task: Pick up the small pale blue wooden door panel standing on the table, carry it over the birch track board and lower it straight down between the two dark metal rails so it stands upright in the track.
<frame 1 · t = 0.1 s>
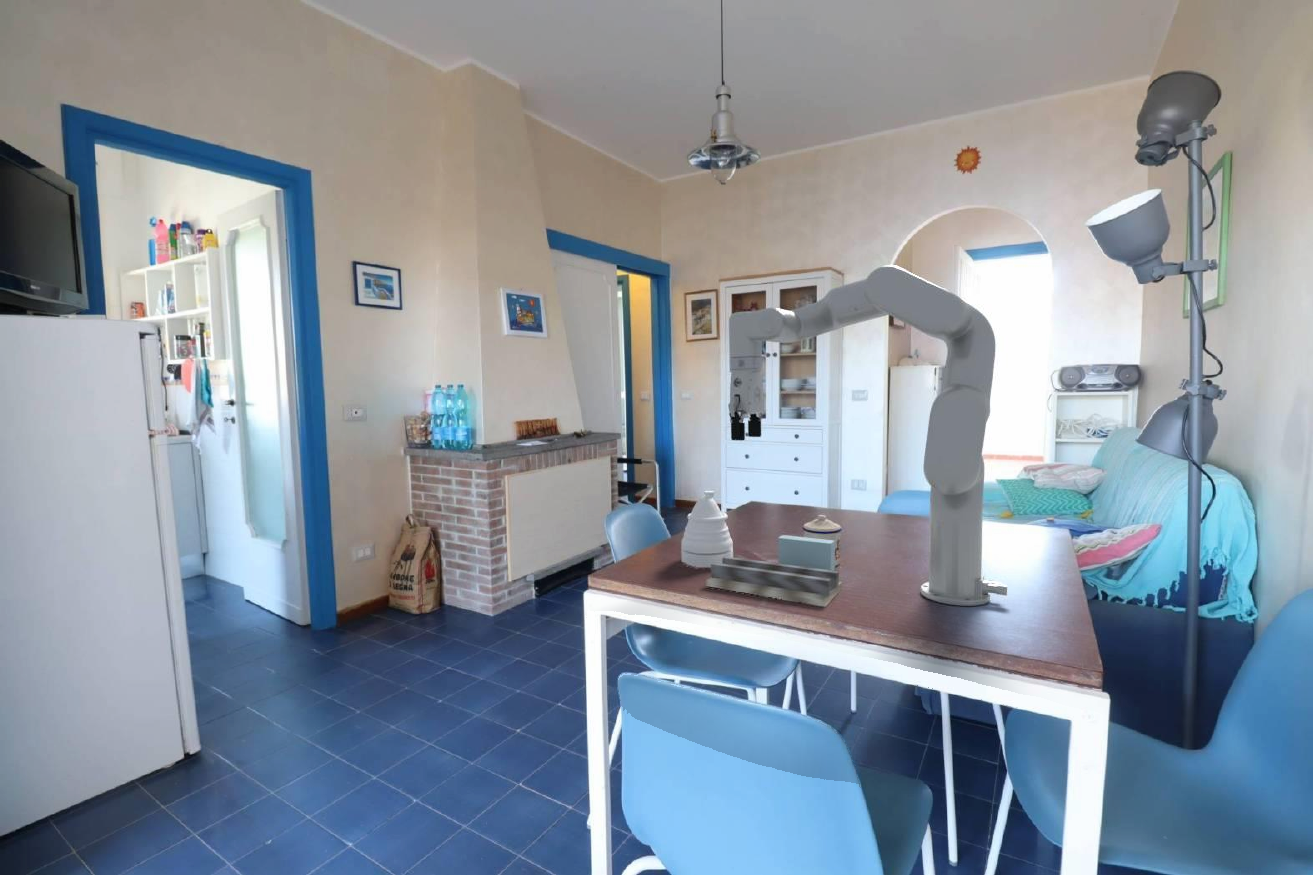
hand: (746, 438, 146), 31 cm above the table, tool pointing down, fingers open, 9 cm apart
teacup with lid: (821, 561, 152), on the table
door panel: (806, 578, 139), on the table
track board: (773, 588, 133), on the table
honey pot: (707, 562, 154), on the table
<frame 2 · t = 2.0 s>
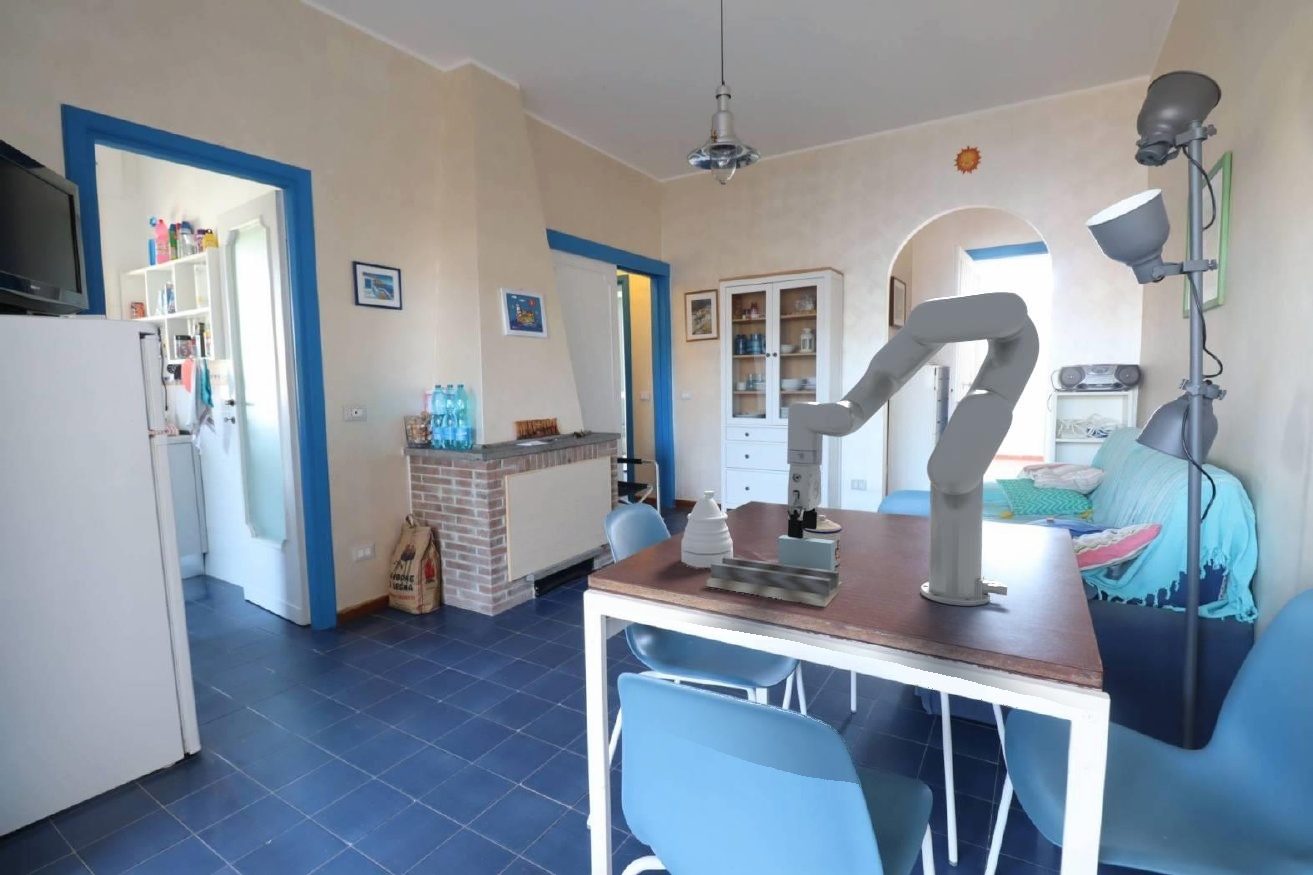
hand: (802, 532, 138), 10 cm above the table, tool pointing down, fingers open, 9 cm apart
nothing on the table moved.
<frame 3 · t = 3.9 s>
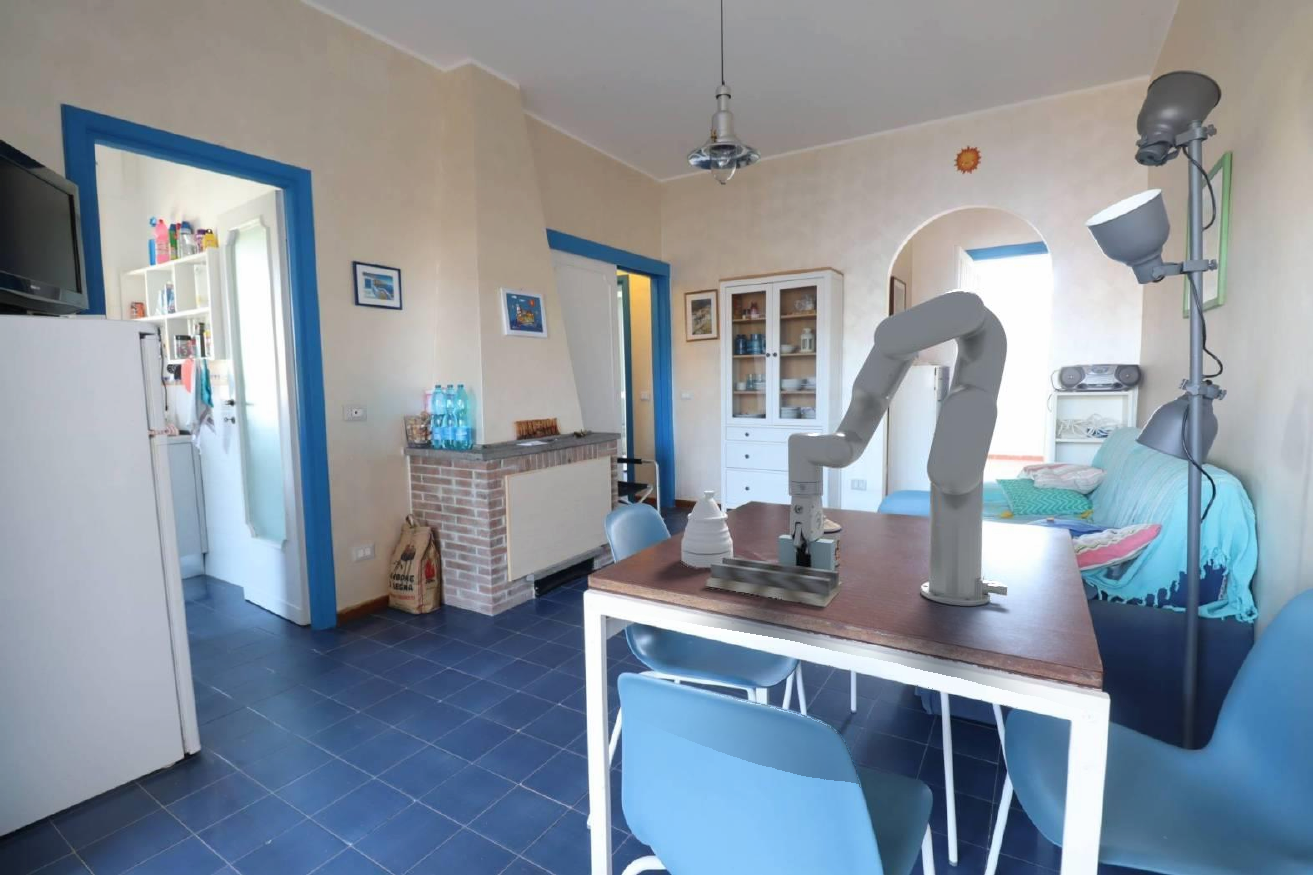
hand: (806, 568, 139), 2 cm above the table, tool pointing down, fingers closed on door panel, 3 cm apart
door panel: (806, 578, 139), on the table, touching gripper
everything else where it was.
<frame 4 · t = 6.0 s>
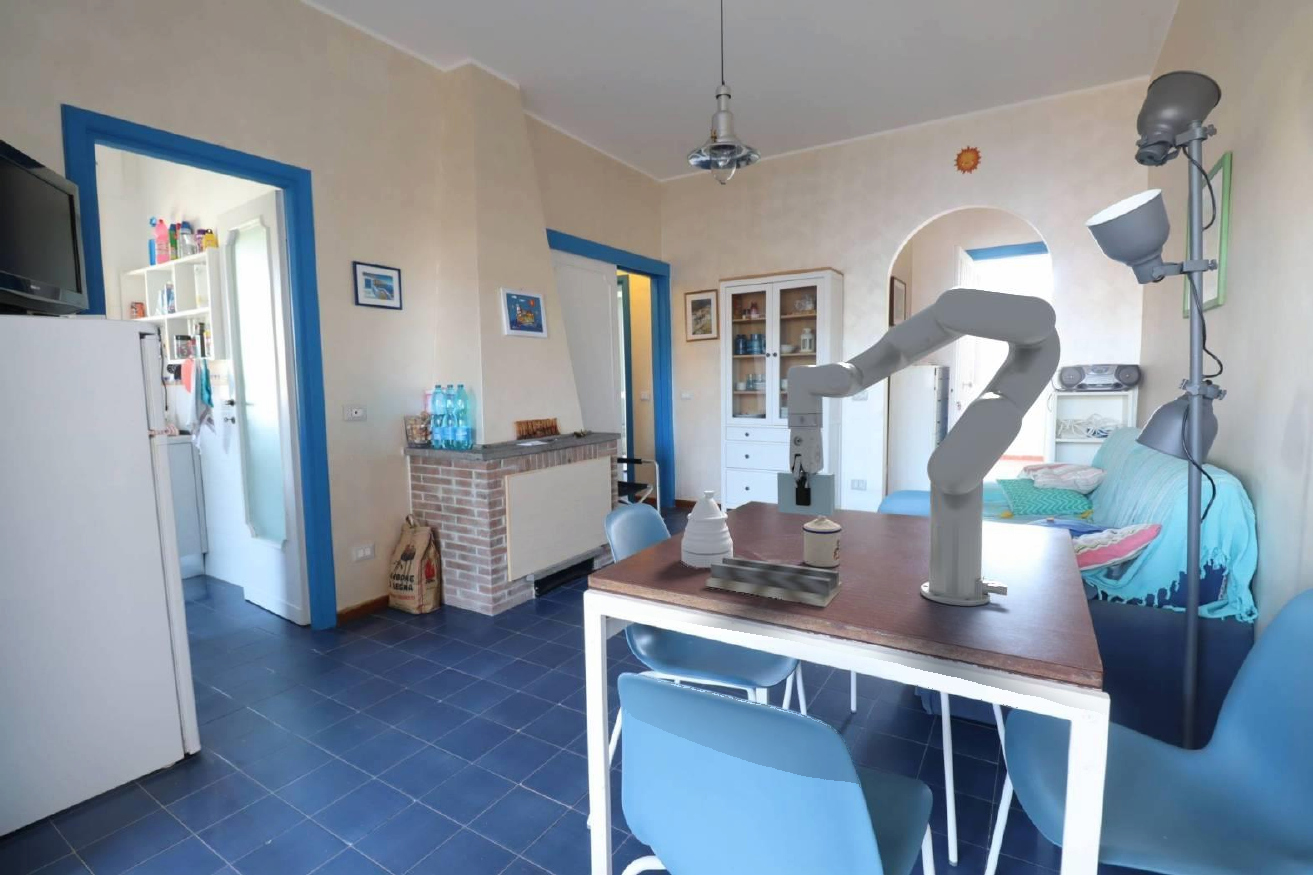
hand: (805, 503, 137), 17 cm above the table, tool pointing down, fingers closed on door panel, 3 cm apart
door panel: (805, 513, 138), point 15 cm above the table, touching gripper
everything else where it was.
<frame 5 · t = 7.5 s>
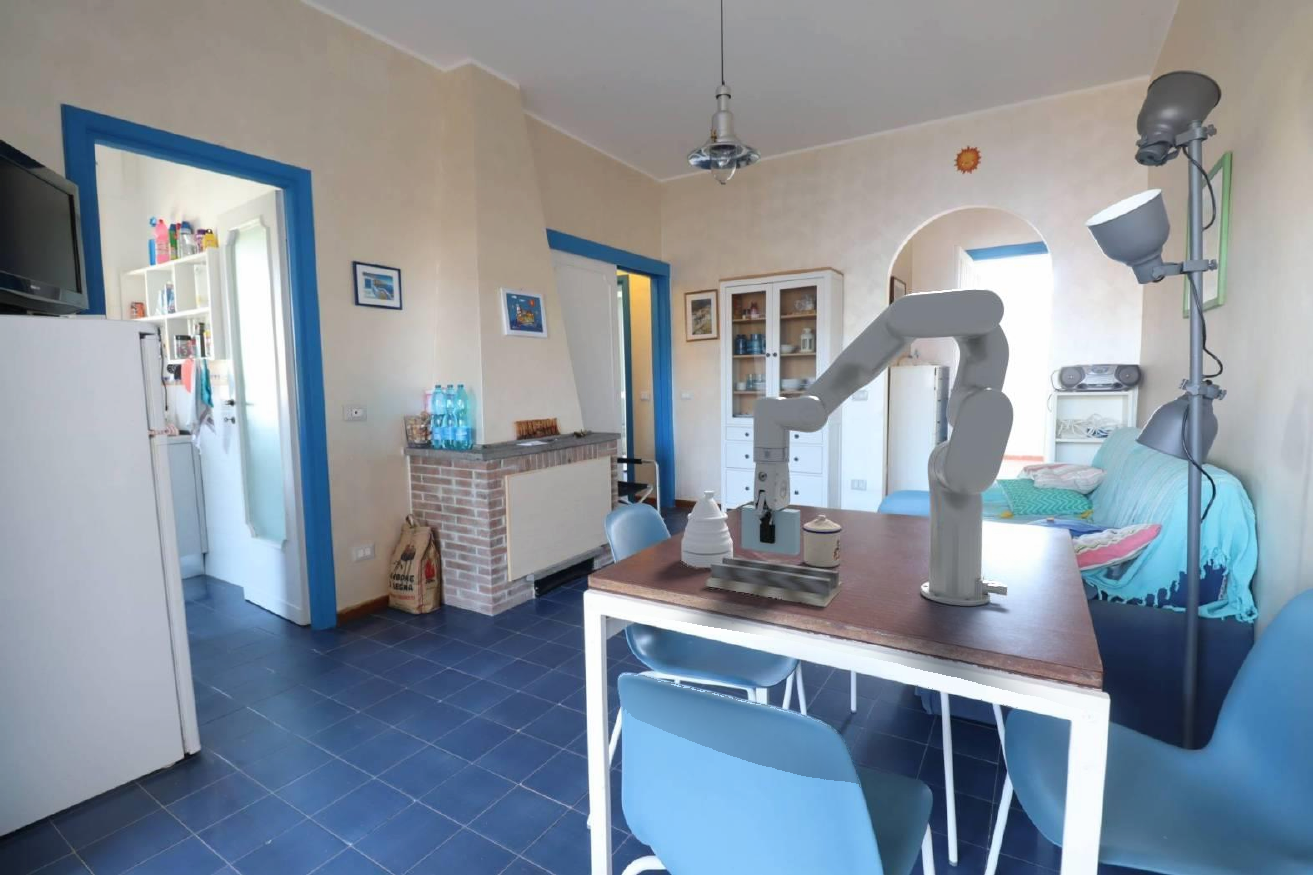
hand: (770, 539, 132), 11 cm above the table, tool pointing down, fingers closed on door panel, 3 cm apart
door panel: (770, 550, 132), point 8 cm above the table, touching gripper
everything else where it was.
when the fingers open (6 cm above the table, at t = 8.5 s): door panel drops 2 cm, resting on track board.
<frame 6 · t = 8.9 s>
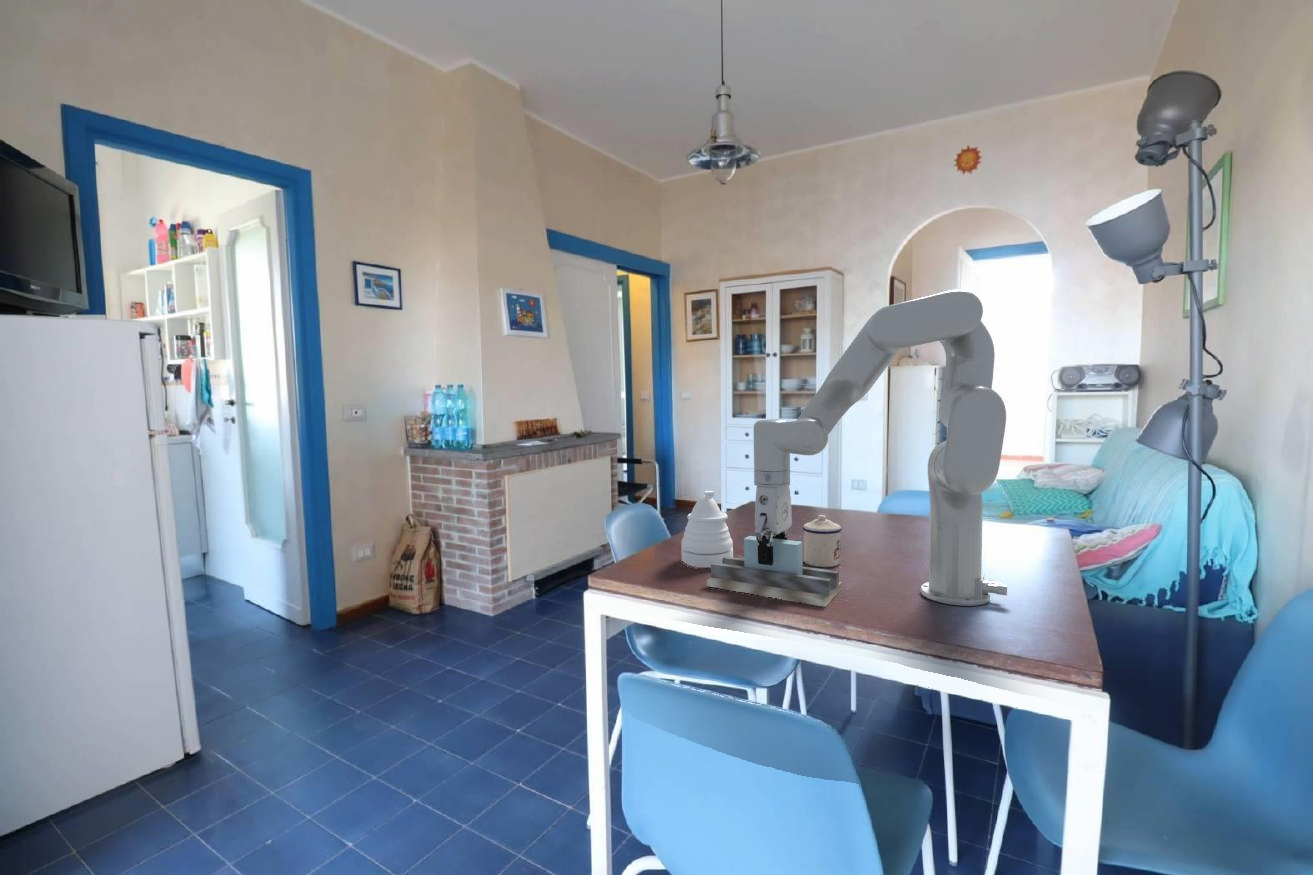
hand: (772, 558, 132), 6 cm above the table, tool pointing down, fingers open, 7 cm apart
door panel: (773, 581, 132), point 2 cm above the table, touching track board
everything else where it was.
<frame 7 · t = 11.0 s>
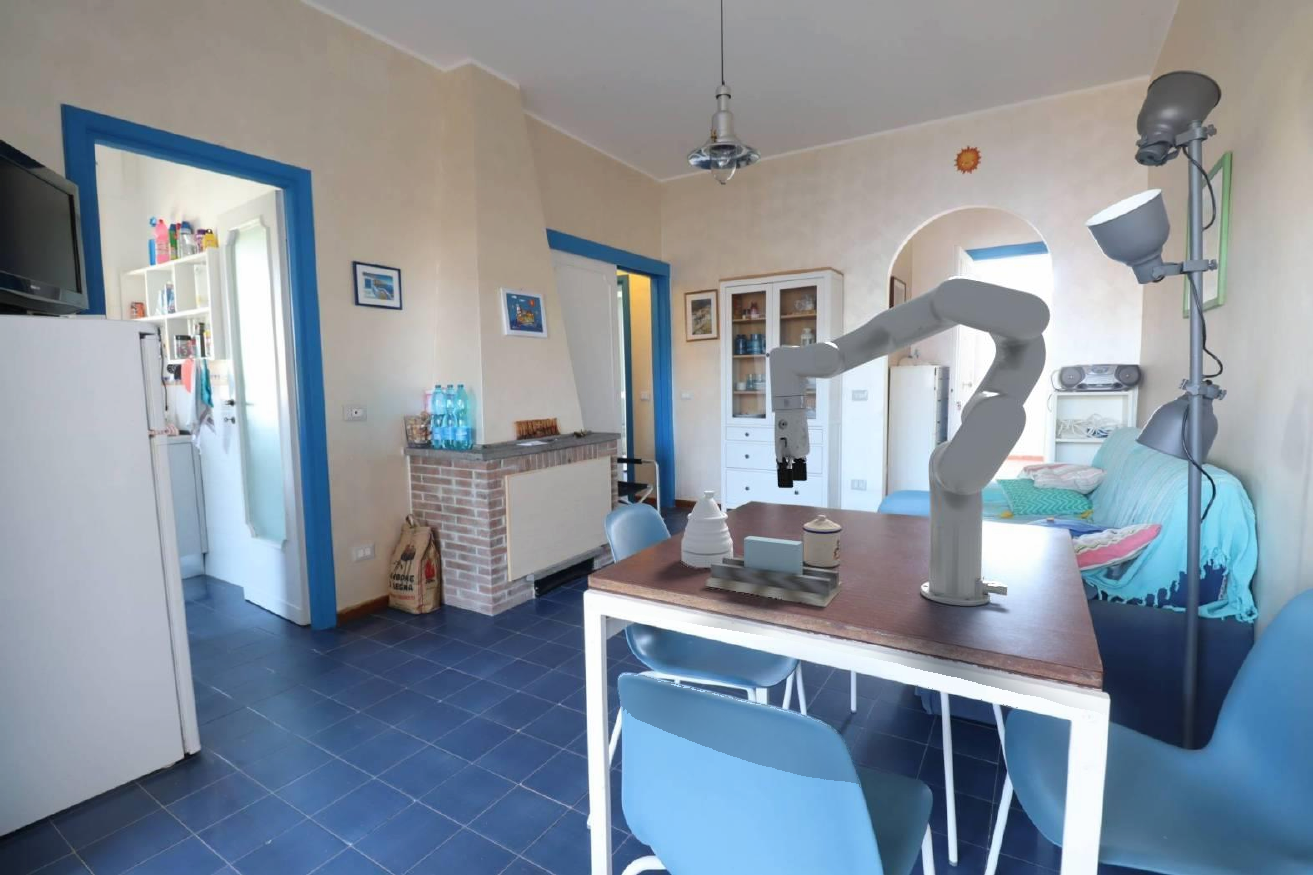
hand: (792, 484, 133), 22 cm above the table, tool pointing down, fingers open, 9 cm apart
nothing on the table moved.
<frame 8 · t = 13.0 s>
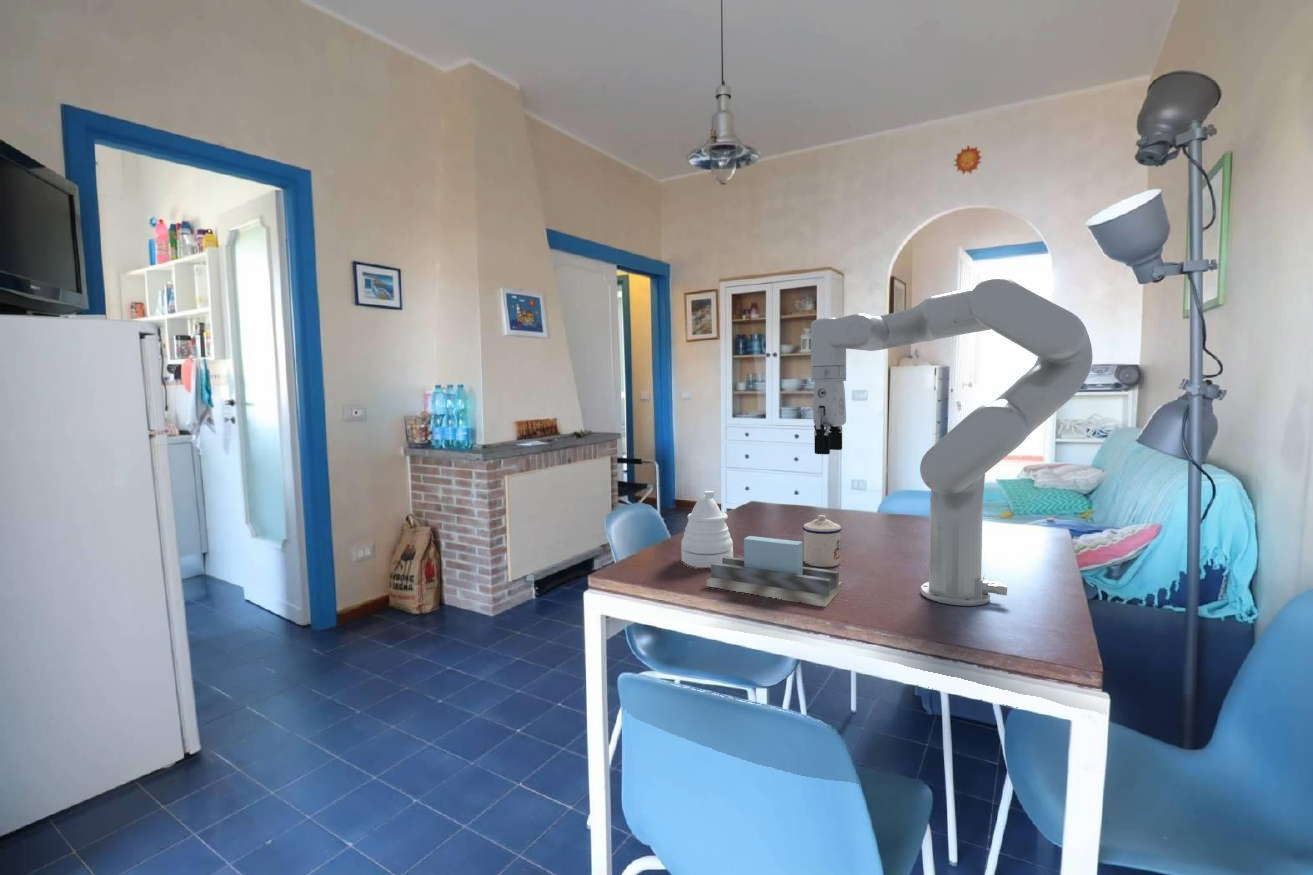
hand: (828, 451, 138), 28 cm above the table, tool pointing down, fingers open, 9 cm apart
nothing on the table moved.
at the end: door panel inside the target area on the track board (0.1 cm from its centre), point 1.5 cm above the track board's base; door panel tilted 0°; the gripper is holding nothing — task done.
